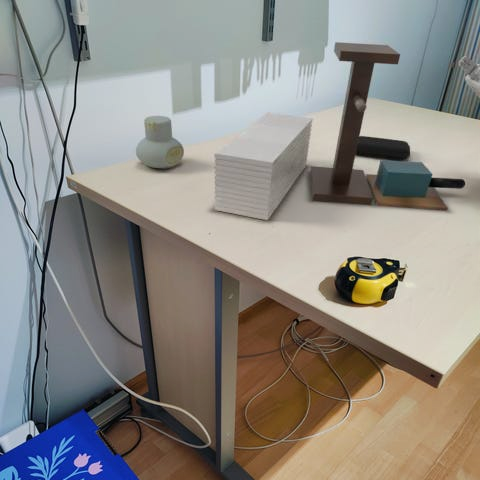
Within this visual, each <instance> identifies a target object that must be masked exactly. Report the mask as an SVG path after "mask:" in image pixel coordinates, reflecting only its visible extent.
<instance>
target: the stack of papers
mask: <svg viewBox="0 0 480 480" xmlns="http://www.w3.org/2000/svg"><path fill="white" fill-rule="evenodd" d="M313 121H314V120H313V117H306V116H297V115H290V114H283V113H276V112H266V113H265V114H264V115H262V116H261V117H260V118H258V119H257V120H256V121H255V122H253V123H252V124H251V125H249V126H248V127H247V128H246V129H244V130H242V132H240V133H239V134H238V135H237V136H235V137H234V138H232V139H230V141H228V142H227V143H226V144H225V145H224V146H222V147H221V148H220V149H219V150H217V151H216V152H214V211H218V212H223V213H229V214H234V215H239V216H244V217H250V218H254V219H260V220H264V221H269V219H270V218H271V216H272V215H273V213H274V212H275V210H276V209H277V208H278V206H279V205H280V204H281V202H282V201H283V199H284V198H285V196H286V195H287V194H288V192H289V191H290V190H291V188H292V187H293V185H294V184H295V182H296V181H297V179H298V178H299V177H300V175H301V174H302V172H303V171H304V170H305V168H306V167H307V161H308V155H309V154H308V153H309V147H310V139H311V132H312V128H313V127H312V126H313Z"/></svg>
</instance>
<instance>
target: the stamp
mask: <svg viewBox="0 0 480 480" xmlns="http://www.w3.org/2000/svg"><path fill="white" fill-rule="evenodd" d="M376 175H377V176H376V181H375V184H376V186H377V187H378V189H379V191H380V192H381V194H382V196H402V197H423V198H425V196H426V193H427V190H428V187H433V188H434V189H437V188H438V189H456V190H460V189H463V188H465V186H466V180H465V179H463V178H452V177H451V178H450V177H449V178H448V177H433V173H432V171H430V169H429V168H427V166H426V165H425V164H424V163H423V162H421V161H406V160H384V159H382V160H379V166H378V169H377V173H376Z"/></svg>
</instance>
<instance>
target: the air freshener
mask: <svg viewBox="0 0 480 480" xmlns="http://www.w3.org/2000/svg"><path fill="white" fill-rule="evenodd" d="M143 122H144V133H145V134H144V135H145V137H144V138H143V139H141V140H140V141H139V142H138V143H137V145H136V148H135V154H136V157H137V159H138V160H139V161H140V163H142V164H143V165H145V166H147V167H149V168H154V169H171V168H173V167H174V166H176V165H178V164H179V163H180V162H181V161H182V160H183V157H184V154H185V148H184V147H183V144H182V142H180V141H179V140H178V139H176V138H174V137H173V127H172V119H170V117H168V116H165V115H151V116H147V117H145V118H144V121H143Z"/></svg>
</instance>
